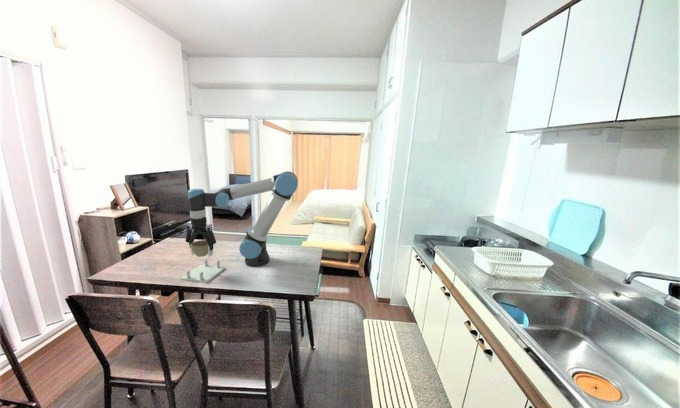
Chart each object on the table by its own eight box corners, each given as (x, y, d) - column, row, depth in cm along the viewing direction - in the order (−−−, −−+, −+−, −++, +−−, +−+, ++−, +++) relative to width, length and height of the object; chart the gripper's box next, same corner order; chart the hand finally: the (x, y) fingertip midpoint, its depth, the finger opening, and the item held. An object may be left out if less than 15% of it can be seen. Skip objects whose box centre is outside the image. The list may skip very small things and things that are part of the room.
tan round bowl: (203, 259, 129) (201, 247, 127) (187, 257, 131) (186, 245, 129) (216, 252, 138) (215, 241, 137) (201, 250, 140) (200, 239, 139)
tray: (225, 268, 144) (224, 261, 143) (207, 282, 128) (206, 274, 127) (201, 266, 146) (201, 258, 145) (181, 279, 131) (180, 271, 130)
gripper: (221, 216, 132) (224, 253, 137) (185, 213, 135) (189, 250, 140) (212, 220, 125) (215, 259, 129) (174, 217, 128) (179, 255, 133)
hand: (202, 254), depth 135 cm, fingers closed on tan round bowl, 10 cm apart
